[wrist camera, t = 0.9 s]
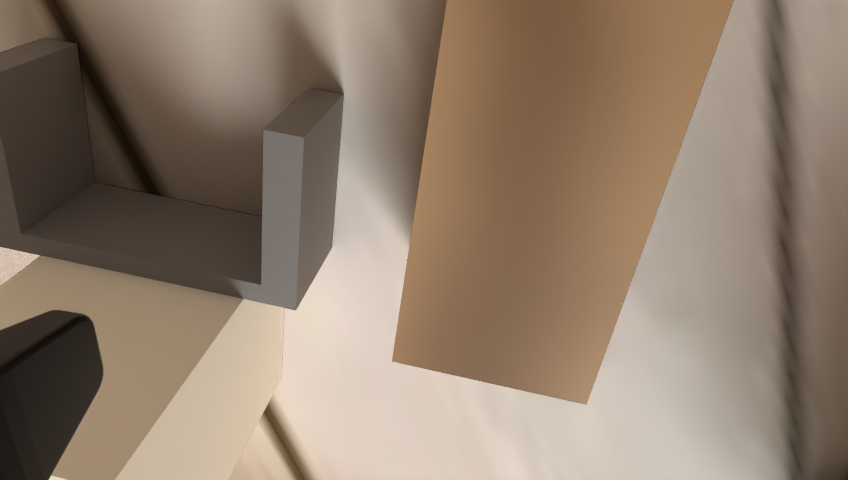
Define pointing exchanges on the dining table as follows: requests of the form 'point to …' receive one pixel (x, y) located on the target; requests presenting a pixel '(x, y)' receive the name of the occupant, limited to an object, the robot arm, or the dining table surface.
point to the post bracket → (160, 274)
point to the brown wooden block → (545, 181)
